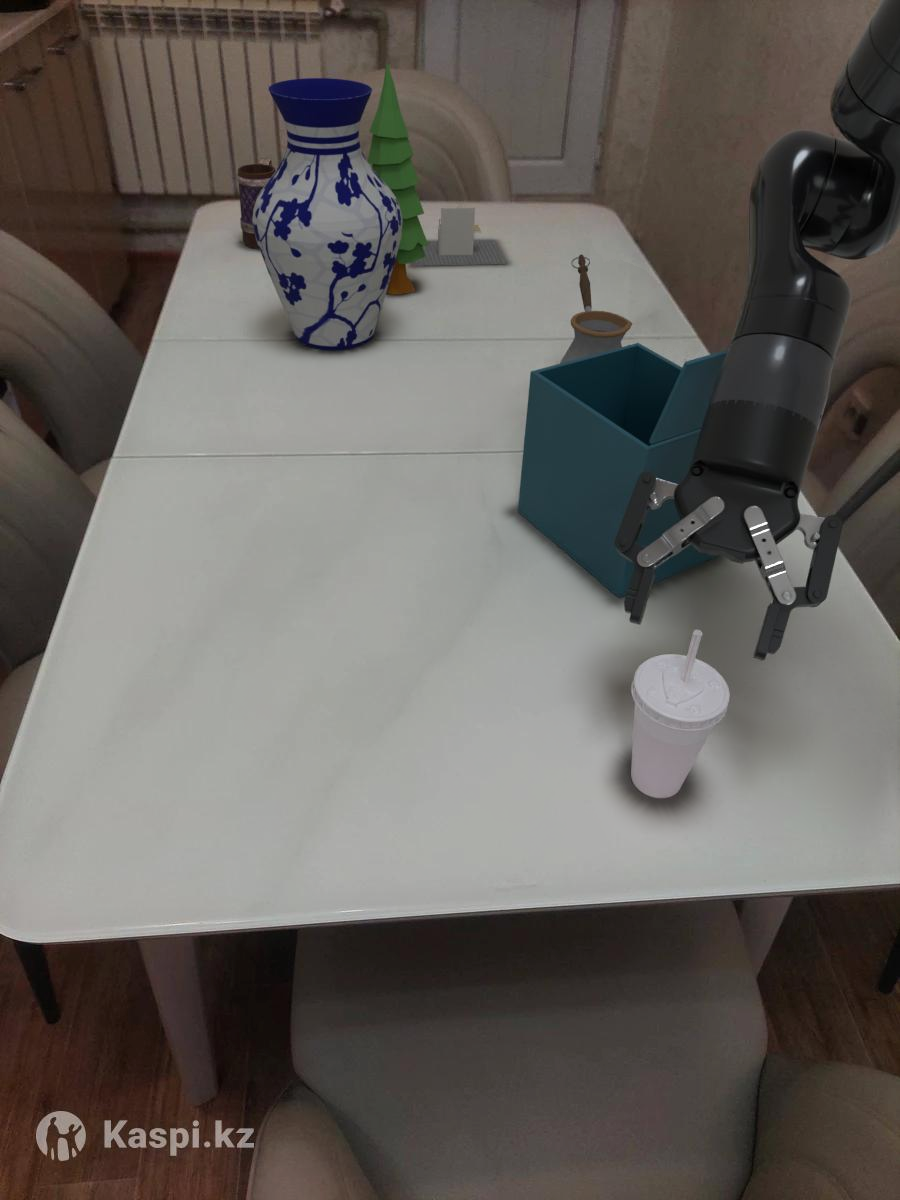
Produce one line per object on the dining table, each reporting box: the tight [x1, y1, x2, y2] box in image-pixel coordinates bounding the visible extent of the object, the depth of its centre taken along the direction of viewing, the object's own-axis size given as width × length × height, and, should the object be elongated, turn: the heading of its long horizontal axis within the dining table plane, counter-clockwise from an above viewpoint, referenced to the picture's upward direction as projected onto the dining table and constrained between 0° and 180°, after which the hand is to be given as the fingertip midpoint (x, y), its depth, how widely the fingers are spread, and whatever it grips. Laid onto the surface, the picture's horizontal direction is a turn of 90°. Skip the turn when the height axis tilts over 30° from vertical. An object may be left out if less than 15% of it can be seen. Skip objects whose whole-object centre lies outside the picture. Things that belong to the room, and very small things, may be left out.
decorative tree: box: [367, 61, 429, 296], centre depth 127 cm, size 10×9×30 cm
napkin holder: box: [436, 204, 482, 256], centre depth 147 cm, size 3×7×7 cm, turn 98°
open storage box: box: [517, 342, 721, 599], centre depth 84 cm, size 16×13×16 cm
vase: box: [252, 77, 403, 351], centre depth 113 cm, size 19×19×30 cm
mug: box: [237, 157, 277, 250], centre depth 148 cm, size 10×7×12 cm
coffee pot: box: [559, 254, 633, 364], centre depth 104 cm, size 21×12×15 cm, turn 2°
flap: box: [649, 348, 729, 444], centre depth 70 cm, size 8×13×1 cm
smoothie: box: [630, 629, 731, 799], centre depth 61 cm, size 6×6×14 cm
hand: (695, 640), depth 61 cm, fingers open, 8 cm apart
